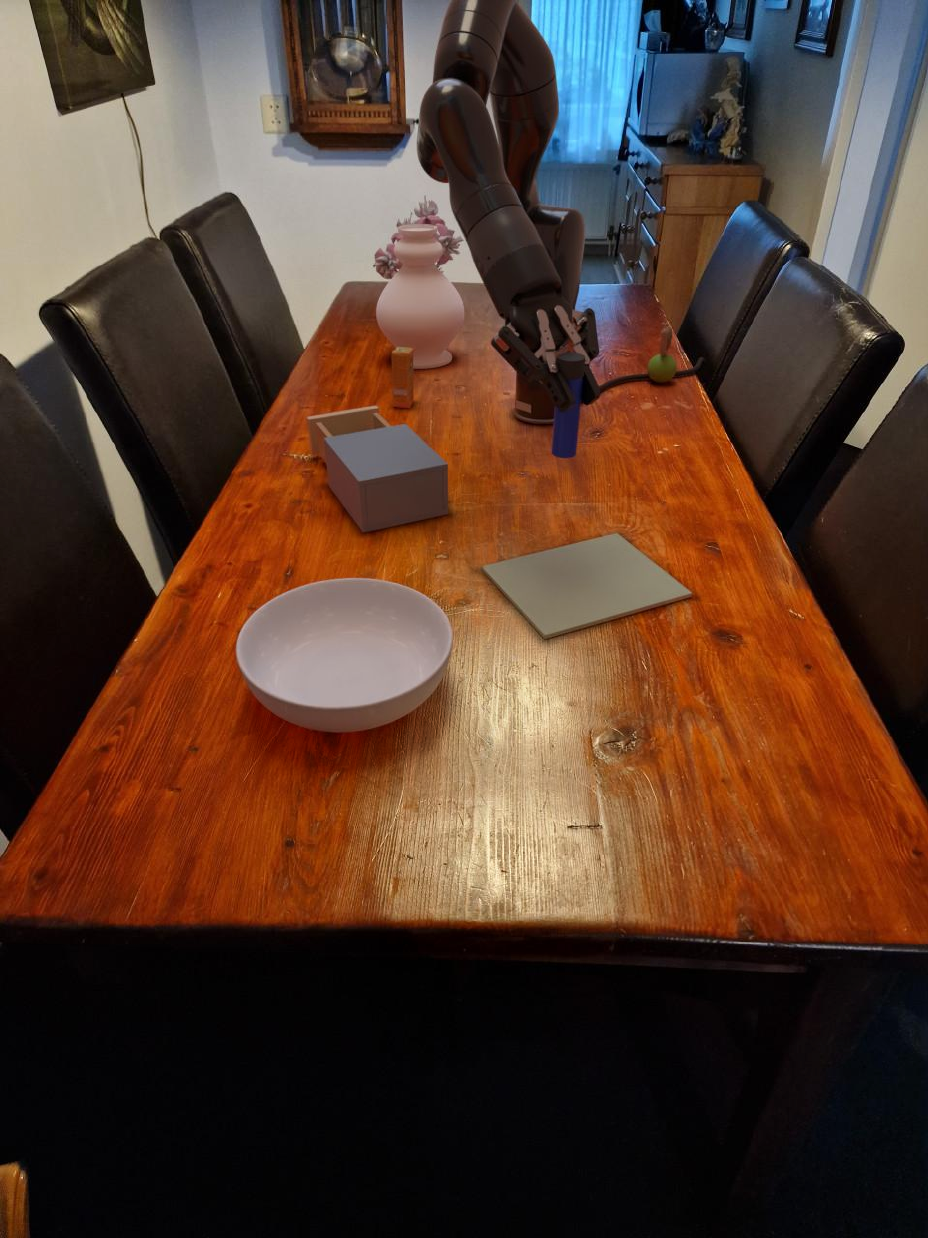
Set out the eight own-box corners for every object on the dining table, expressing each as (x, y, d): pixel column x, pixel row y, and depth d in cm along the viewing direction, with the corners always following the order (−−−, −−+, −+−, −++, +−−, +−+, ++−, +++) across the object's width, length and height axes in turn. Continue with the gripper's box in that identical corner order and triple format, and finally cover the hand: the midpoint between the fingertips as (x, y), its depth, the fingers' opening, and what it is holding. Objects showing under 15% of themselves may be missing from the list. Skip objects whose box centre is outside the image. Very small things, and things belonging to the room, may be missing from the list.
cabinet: (328, 486, 121) (323, 437, 117) (407, 470, 125) (405, 423, 121) (363, 533, 109) (358, 481, 105) (448, 514, 114) (448, 463, 109)
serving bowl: (272, 790, 72) (261, 732, 68) (229, 656, 88) (217, 603, 84) (487, 725, 79) (488, 669, 75) (411, 611, 94) (408, 560, 90)
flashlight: (568, 446, 94) (576, 350, 88) (582, 455, 92) (590, 358, 86) (545, 450, 93) (551, 354, 87) (559, 460, 91) (566, 362, 85)
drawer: (303, 442, 132) (299, 407, 129) (369, 430, 136) (367, 396, 133) (338, 488, 118) (334, 451, 115) (411, 474, 122) (410, 437, 119)
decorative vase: (481, 362, 168) (482, 229, 153) (407, 378, 159) (401, 240, 145) (434, 341, 180) (431, 216, 165) (363, 355, 171) (354, 225, 157)
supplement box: (410, 408, 146) (408, 352, 141) (392, 407, 147) (389, 351, 141) (415, 402, 149) (413, 347, 143) (397, 401, 150) (394, 345, 144)
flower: (343, 302, 201) (355, 207, 180) (413, 277, 212) (431, 185, 191) (394, 353, 195) (412, 262, 175) (463, 325, 206) (487, 236, 186)
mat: (616, 536, 109) (617, 532, 108) (691, 597, 97) (692, 592, 96) (481, 570, 102) (481, 565, 101) (544, 639, 90) (544, 635, 89)
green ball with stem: (642, 386, 156) (650, 321, 149) (648, 375, 161) (657, 312, 154) (670, 389, 154) (680, 324, 147) (676, 379, 159) (686, 315, 152)
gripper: (476, 249, 82) (550, 402, 81) (579, 233, 89) (648, 374, 88) (446, 294, 89) (514, 435, 88) (544, 276, 95) (608, 407, 94)
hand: (581, 404), depth 88 cm, fingers closed on flashlight, 3 cm apart
